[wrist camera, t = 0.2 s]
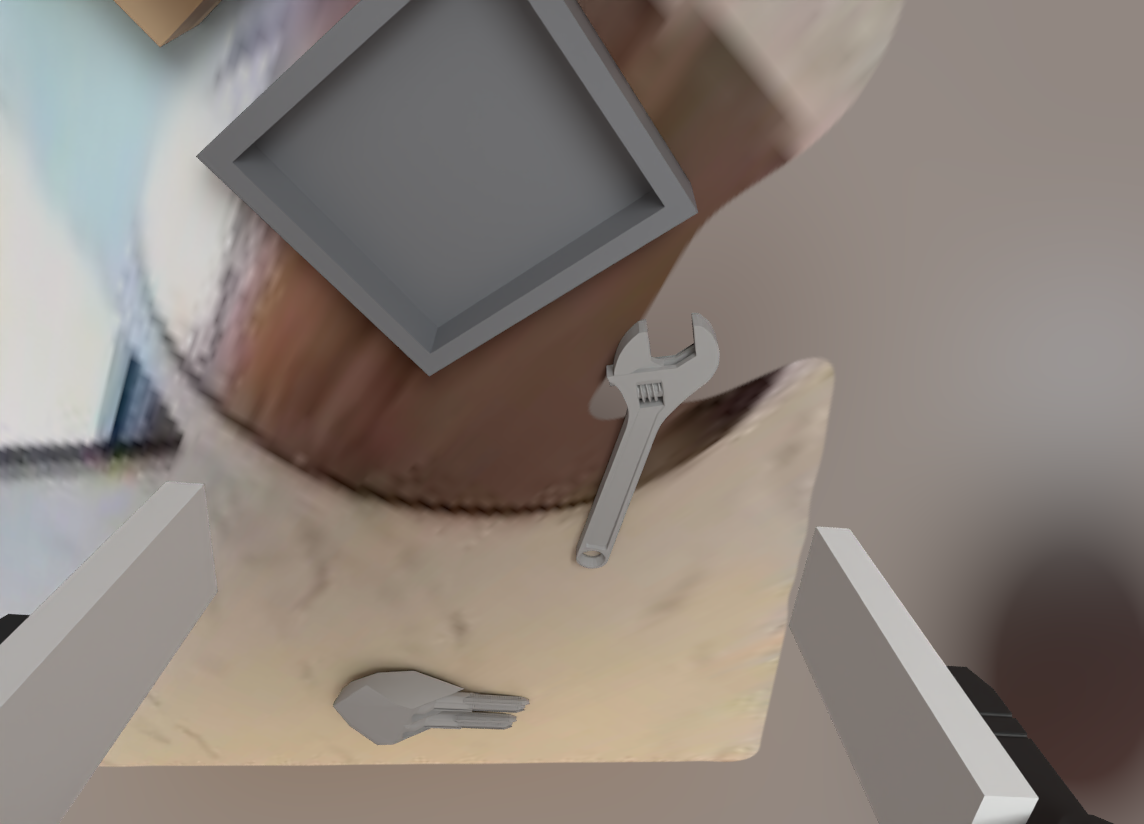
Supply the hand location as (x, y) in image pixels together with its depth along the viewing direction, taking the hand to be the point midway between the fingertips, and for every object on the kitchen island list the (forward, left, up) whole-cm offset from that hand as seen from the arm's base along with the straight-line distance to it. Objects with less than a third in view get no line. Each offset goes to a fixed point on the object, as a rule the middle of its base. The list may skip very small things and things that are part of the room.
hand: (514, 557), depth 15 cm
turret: (+46, +40, -28) cm, 68 cm away
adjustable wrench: (+10, +21, -28) cm, 37 cm away
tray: (+5, -2, -27) cm, 28 cm away
